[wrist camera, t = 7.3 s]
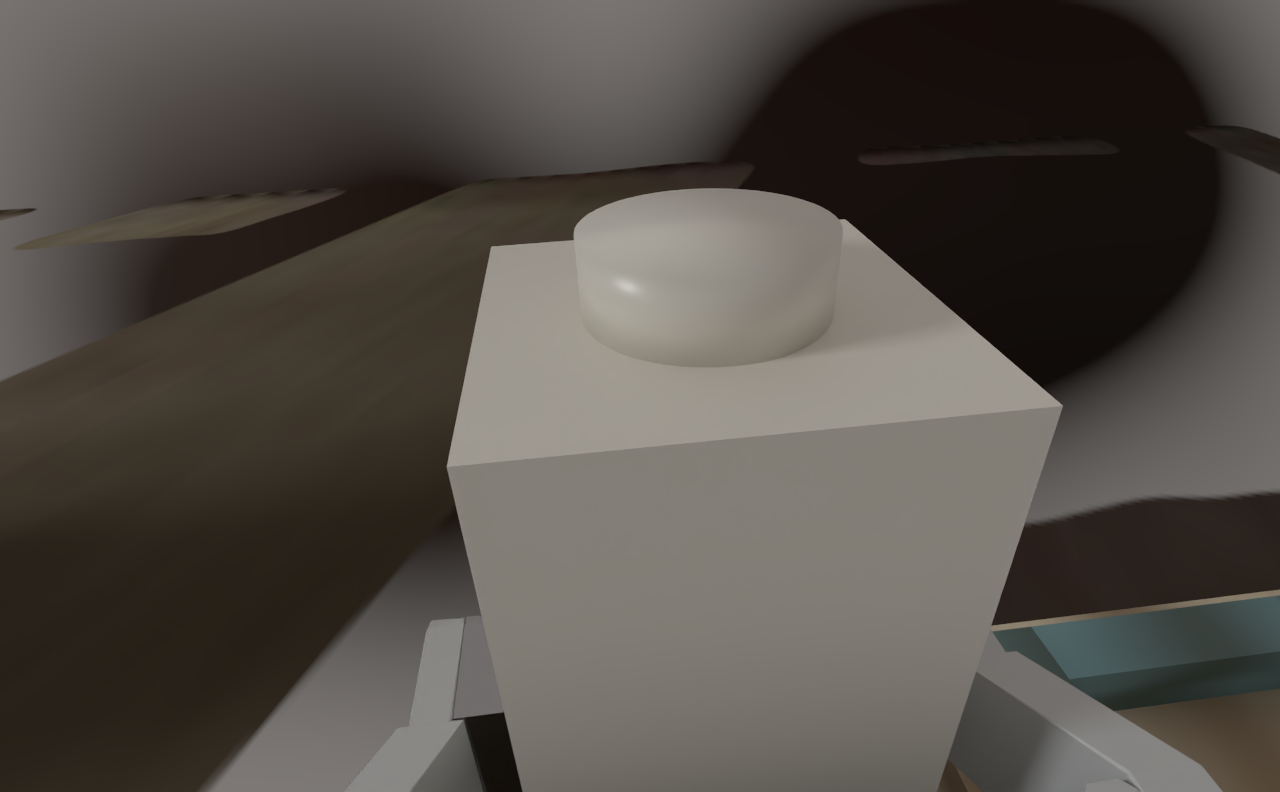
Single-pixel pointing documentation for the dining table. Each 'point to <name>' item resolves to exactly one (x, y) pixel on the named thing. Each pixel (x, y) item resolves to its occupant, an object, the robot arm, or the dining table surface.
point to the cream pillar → (735, 500)
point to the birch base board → (1173, 678)
